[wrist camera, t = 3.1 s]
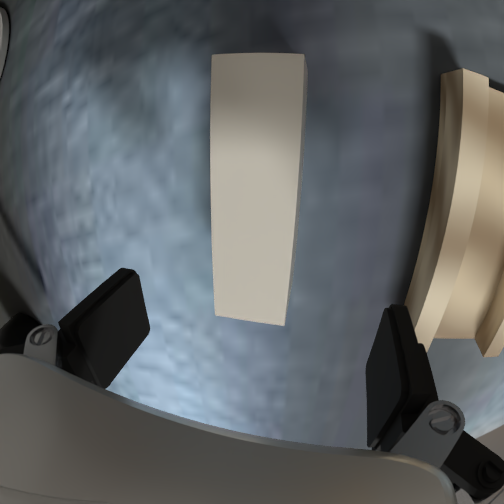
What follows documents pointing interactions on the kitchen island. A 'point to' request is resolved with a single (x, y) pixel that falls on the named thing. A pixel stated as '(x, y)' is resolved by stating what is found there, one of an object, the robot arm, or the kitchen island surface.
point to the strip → (256, 180)
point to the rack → (464, 221)
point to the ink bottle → (16, 331)
